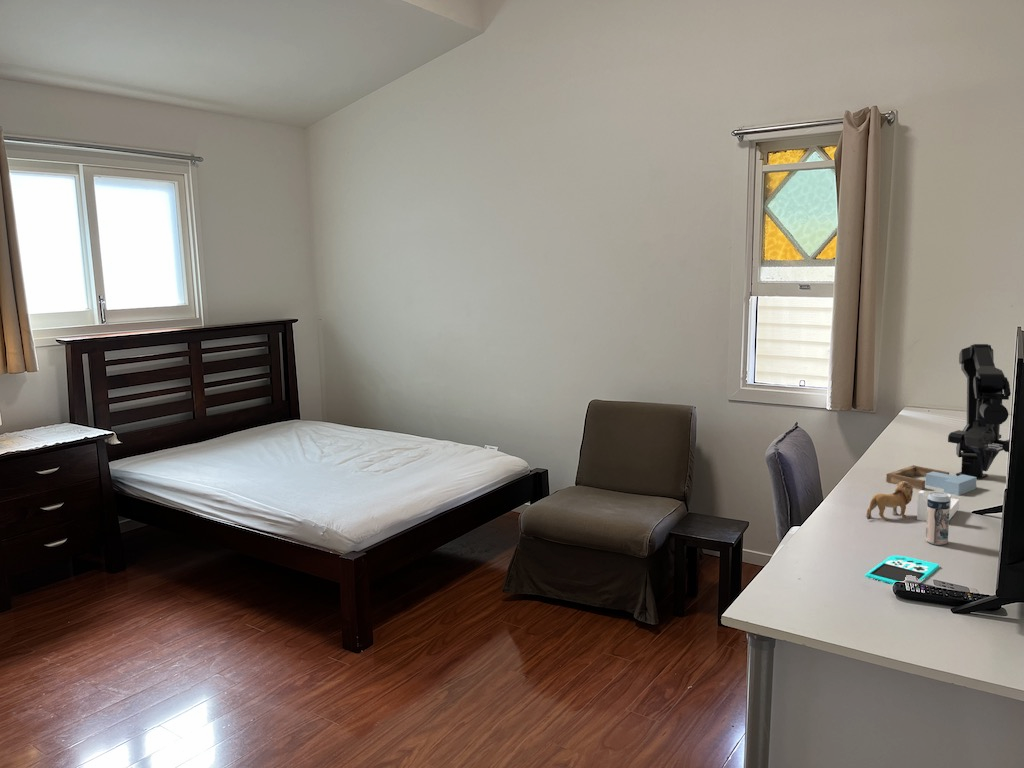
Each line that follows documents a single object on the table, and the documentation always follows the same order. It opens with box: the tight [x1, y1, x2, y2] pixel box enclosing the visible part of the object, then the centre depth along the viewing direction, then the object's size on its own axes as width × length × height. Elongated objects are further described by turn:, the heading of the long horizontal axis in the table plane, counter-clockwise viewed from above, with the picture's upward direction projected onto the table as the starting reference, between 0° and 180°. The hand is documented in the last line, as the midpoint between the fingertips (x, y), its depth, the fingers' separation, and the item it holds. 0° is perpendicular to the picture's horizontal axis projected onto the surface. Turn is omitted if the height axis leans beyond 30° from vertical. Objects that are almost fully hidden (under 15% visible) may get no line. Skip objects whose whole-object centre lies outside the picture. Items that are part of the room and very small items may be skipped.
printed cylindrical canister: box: [925, 491, 950, 546], centre depth 180 cm, size 5×5×12 cm
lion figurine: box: [865, 481, 914, 521], centre depth 199 cm, size 15×5×9 cm, turn 112°
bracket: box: [916, 489, 960, 522], centre depth 199 cm, size 13×7×8 cm, turn 139°
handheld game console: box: [864, 554, 940, 585], centre depth 165 cm, size 10×16×1 cm, turn 133°
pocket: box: [885, 465, 950, 491], centre depth 229 cm, size 15×11×2 cm
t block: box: [925, 471, 978, 496], centre depth 222 cm, size 10×11×4 cm
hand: (985, 470), depth 213 cm, fingers closed
